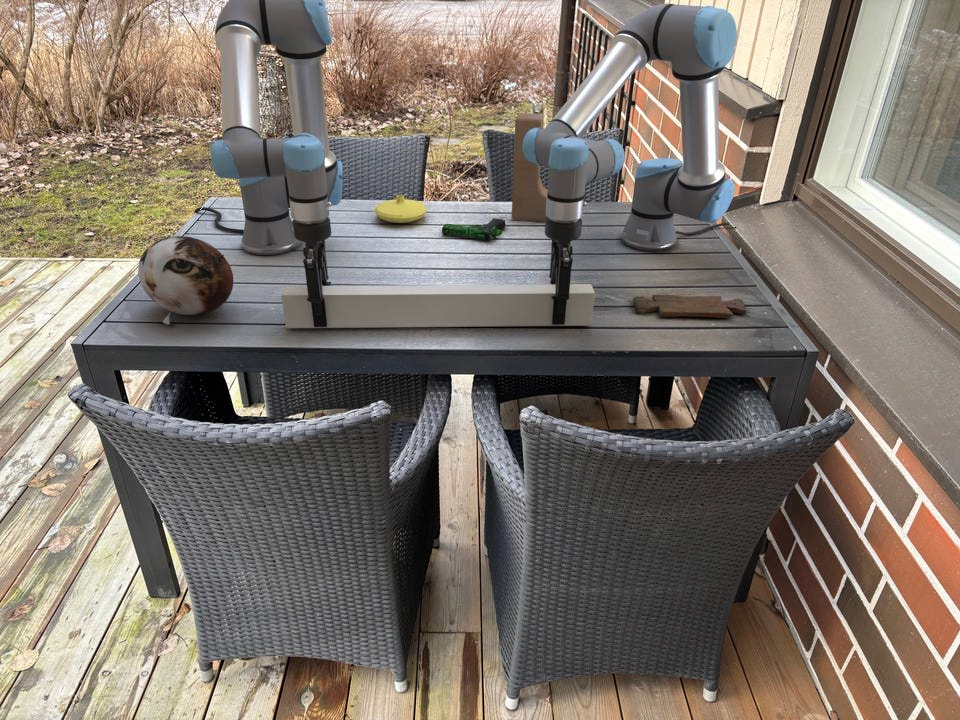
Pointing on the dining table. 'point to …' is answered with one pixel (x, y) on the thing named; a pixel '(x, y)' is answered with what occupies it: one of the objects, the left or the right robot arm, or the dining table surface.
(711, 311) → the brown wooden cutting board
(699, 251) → the dining table surface
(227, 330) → the dining table surface
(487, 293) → the beam
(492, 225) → the handgun
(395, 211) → the yellow pattypan squash
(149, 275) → the eye print balloon
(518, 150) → the decorative block
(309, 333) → the dining table surface
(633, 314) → the dining table surface
